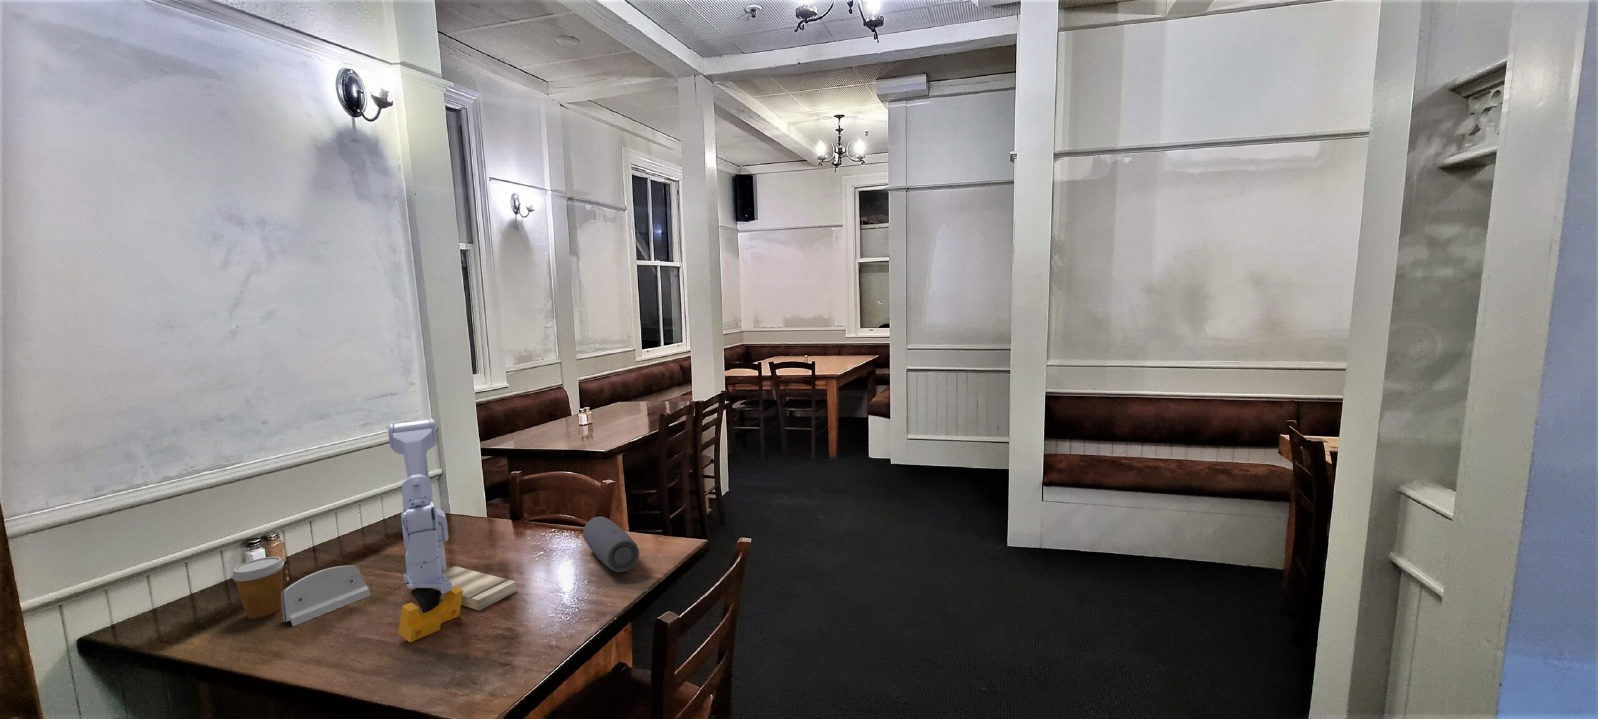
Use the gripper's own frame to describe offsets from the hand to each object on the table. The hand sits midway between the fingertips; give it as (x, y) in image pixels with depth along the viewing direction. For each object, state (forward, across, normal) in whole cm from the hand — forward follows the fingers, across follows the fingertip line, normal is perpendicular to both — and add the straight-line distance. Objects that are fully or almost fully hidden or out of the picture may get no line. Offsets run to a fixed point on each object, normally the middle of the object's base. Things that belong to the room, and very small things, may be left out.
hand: (431, 617), depth 138 cm
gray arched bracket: (+2, -33, -5) cm, 33 cm away
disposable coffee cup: (+2, -45, -13) cm, 47 cm away
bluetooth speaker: (+2, +15, +40) cm, 43 cm away
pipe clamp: (+1, +2, -2) cm, 3 cm away
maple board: (+1, -7, +13) cm, 15 cm away
